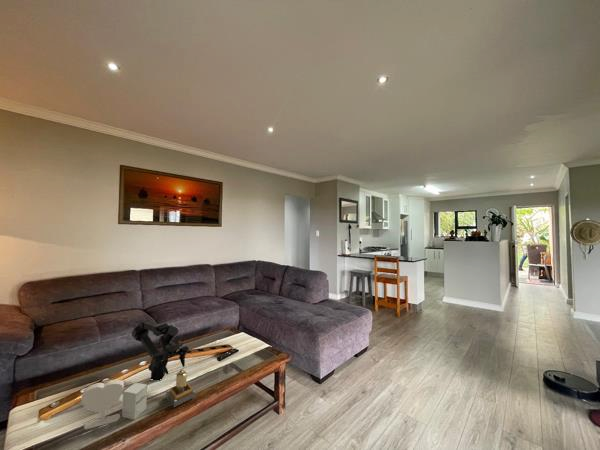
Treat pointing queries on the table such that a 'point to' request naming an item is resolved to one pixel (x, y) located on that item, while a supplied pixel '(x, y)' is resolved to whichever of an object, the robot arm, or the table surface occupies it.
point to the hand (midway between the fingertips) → (176, 370)
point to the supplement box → (134, 400)
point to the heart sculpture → (102, 400)
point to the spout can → (181, 382)
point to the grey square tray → (179, 395)
